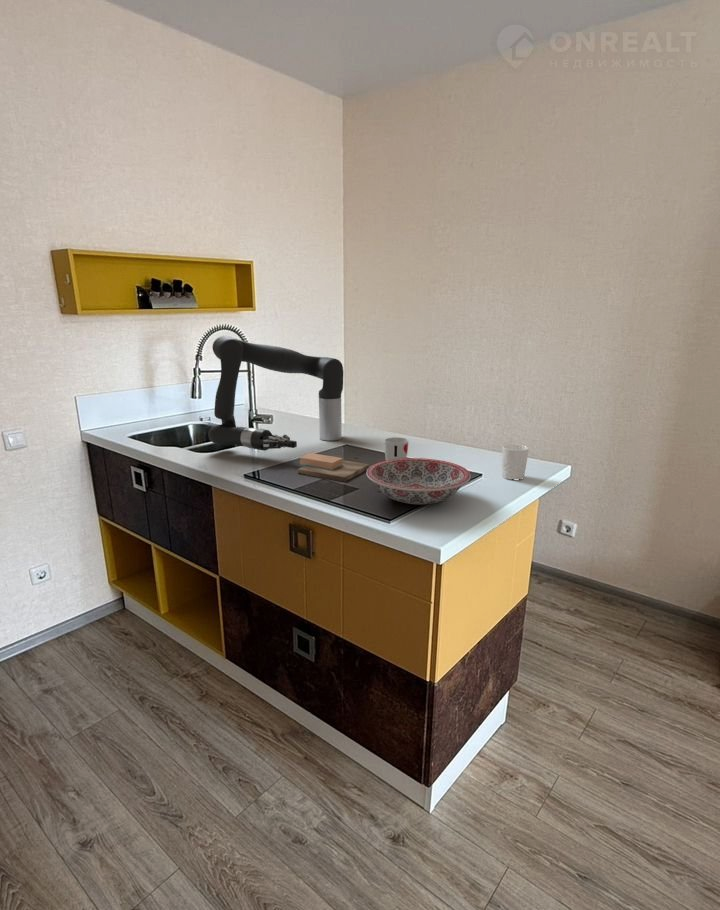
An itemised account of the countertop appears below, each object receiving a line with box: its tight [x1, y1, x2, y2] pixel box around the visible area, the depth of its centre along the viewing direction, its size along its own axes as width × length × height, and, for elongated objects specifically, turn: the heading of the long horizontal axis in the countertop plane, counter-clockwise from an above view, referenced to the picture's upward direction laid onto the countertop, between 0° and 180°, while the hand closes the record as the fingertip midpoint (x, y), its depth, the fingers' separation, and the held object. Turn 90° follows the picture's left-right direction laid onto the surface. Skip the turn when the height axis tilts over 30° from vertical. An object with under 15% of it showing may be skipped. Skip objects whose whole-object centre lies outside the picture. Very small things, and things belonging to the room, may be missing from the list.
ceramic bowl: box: [365, 457, 472, 505], centre depth 148 cm, size 29×29×8 cm
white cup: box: [501, 443, 529, 480], centre depth 167 cm, size 8×8×10 cm
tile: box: [299, 452, 344, 470], centre depth 176 cm, size 6×2×13 cm
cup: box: [383, 436, 409, 461], centre depth 176 cm, size 8×8×10 cm
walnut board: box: [297, 459, 370, 483], centre depth 175 cm, size 16×18×2 cm
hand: (295, 444), depth 180 cm, fingers closed
